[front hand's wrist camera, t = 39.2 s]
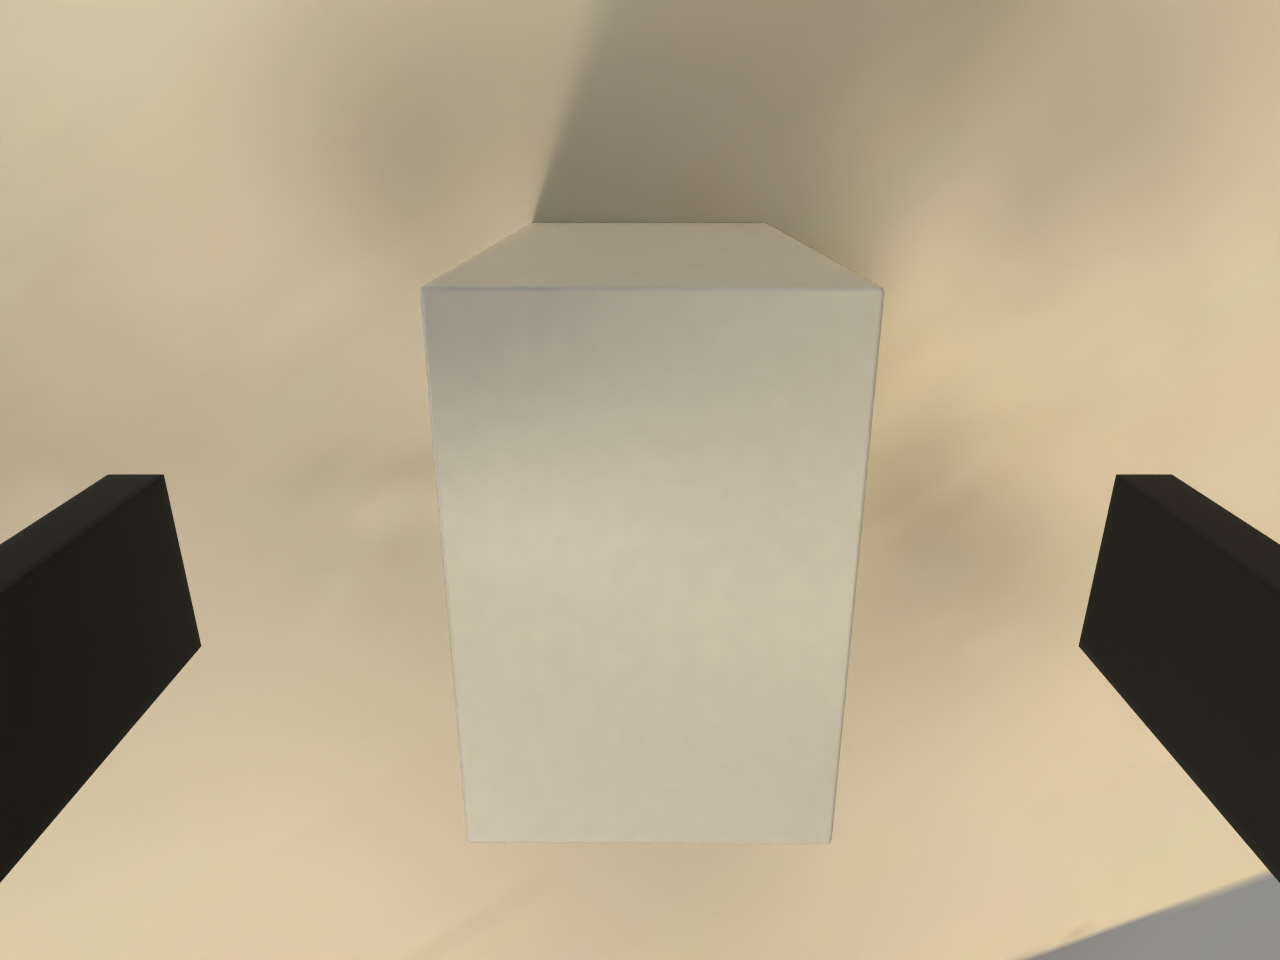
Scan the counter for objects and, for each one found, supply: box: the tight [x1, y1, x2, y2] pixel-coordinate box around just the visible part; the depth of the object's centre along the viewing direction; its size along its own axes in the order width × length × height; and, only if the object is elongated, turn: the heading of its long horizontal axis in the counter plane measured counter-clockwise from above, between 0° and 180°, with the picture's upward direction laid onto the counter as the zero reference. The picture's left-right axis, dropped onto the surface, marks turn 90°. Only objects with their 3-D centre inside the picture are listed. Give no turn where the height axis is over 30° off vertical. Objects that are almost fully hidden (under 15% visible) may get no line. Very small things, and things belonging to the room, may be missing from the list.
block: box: [420, 223, 884, 844], centre depth 18 cm, size 9×6×12 cm, turn 0°
